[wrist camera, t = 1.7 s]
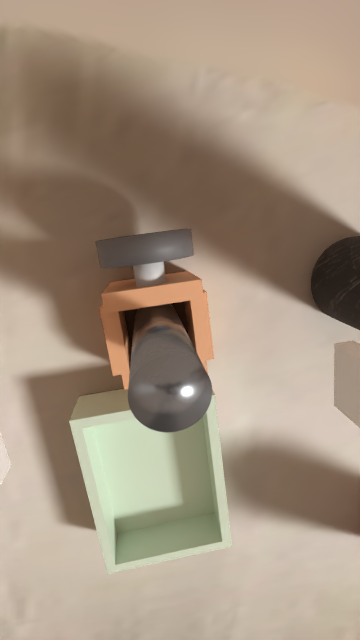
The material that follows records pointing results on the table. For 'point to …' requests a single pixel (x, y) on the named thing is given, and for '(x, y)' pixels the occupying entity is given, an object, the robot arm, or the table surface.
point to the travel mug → (339, 281)
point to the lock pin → (166, 372)
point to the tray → (150, 483)
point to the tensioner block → (151, 291)
